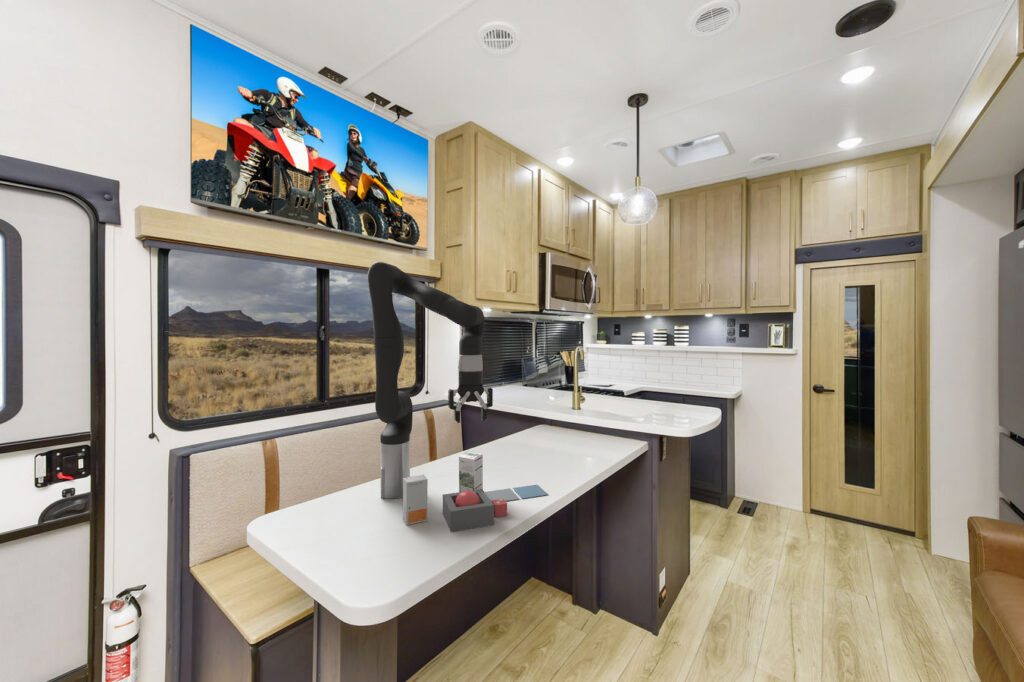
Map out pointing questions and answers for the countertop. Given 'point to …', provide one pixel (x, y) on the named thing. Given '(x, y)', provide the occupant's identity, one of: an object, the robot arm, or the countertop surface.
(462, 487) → the syrup box
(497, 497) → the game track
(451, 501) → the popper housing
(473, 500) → the red ball
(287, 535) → the countertop surface
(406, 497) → the skincare box
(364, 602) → the countertop surface
